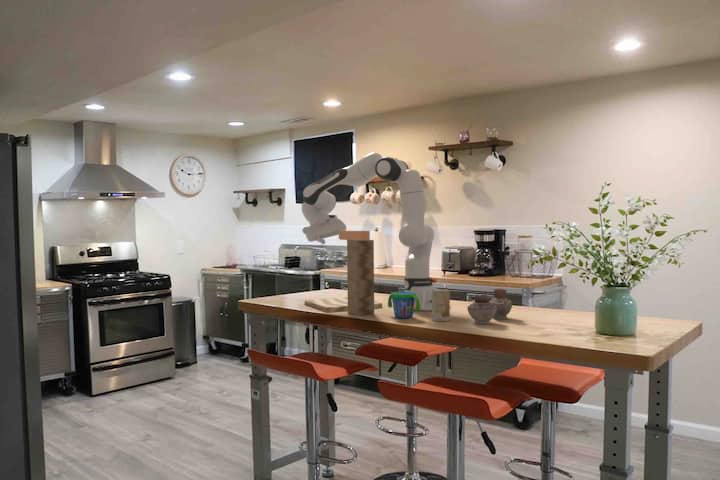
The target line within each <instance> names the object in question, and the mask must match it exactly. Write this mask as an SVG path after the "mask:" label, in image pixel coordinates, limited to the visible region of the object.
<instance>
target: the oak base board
mask: <svg viewBox="0 0 720 480" xmlns="http://www.w3.org/2000/svg"><path fill="white" fill-rule="evenodd" d="M304 305H306V306H309V307H311V308H314V309H317V310H319V311H321V312H322V311H323V312H325V313H332V312H333V313H334V312H335V313H336V312H346V311H347V312H348V296H346V297H344V296H343V297H332V298H331V297H330V298H319V299H318V298H317V299H315V298H314V299H305V300H304ZM381 308H383V303H382V302H378V301H375V300H374V309H381Z"/></svg>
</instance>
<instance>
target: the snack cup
mask: <svg viewBox="0 0 720 480" xmlns="http://www.w3.org/2000/svg"><path fill="white" fill-rule="evenodd" d="M415 302H416V307H415V310H414V303H415ZM387 307H388V308H389V309H391V308H392V307H393V308H392V309H393V314H394V317H395V318H398V319H411V318H412V317H413V316H414V311H416V312H418V311H420V310H419V309H420V303H419V299H418V297H417V296H416V293H415V292H405V291H394V292H390V294H389V296H388V300H387Z"/></svg>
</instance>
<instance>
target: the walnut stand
mask: <svg viewBox="0 0 720 480" xmlns="http://www.w3.org/2000/svg"><path fill="white" fill-rule="evenodd" d="M374 243H375V242H374V239H370V240H367V241H358V240H346V250H347V251H346V255H347V256H346V260H347V263H346V264H347V266H346V268H347V270H346V271H347V272H346V273H347V275H346V276H347V281H346V282H347V283H346V284H347V285H346V286H347V297H348V310H347V313H348V314H352V315H355V316H366V315H367V316H368V315H375V308H374V301H375V252H374V251H375V249H374V248H375V247H374V246H375V244H374Z"/></svg>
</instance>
